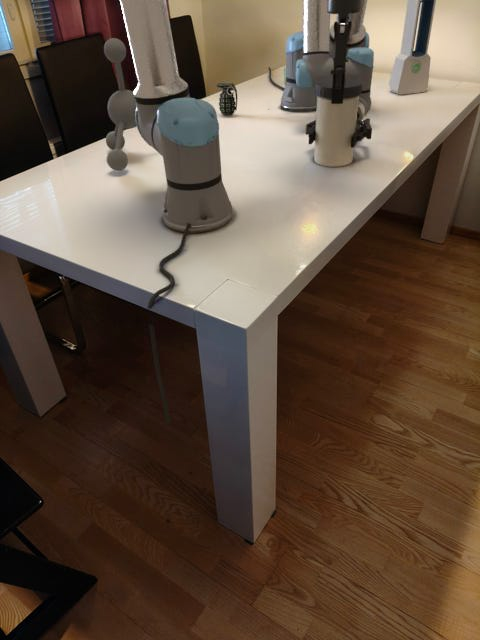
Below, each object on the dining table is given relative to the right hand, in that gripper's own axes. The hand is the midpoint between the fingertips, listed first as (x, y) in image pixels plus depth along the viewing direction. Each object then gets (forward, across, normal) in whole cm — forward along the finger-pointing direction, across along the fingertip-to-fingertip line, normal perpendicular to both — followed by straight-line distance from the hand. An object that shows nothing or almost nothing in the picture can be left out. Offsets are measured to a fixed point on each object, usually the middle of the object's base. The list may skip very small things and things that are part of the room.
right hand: (331, 140), depth 124 cm
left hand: (-4, 0, +9) cm, 10 cm away
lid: (-4, 0, +12) cm, 13 cm away
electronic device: (-81, -10, -6) cm, 82 cm away
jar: (-4, 0, -6) cm, 8 cm away
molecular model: (+7, +53, -6) cm, 54 cm away
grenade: (-37, +45, -6) cm, 59 cm away
